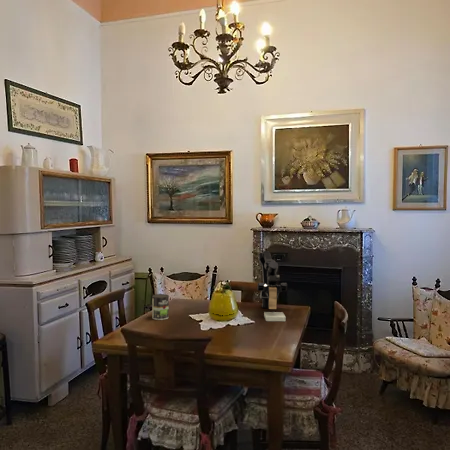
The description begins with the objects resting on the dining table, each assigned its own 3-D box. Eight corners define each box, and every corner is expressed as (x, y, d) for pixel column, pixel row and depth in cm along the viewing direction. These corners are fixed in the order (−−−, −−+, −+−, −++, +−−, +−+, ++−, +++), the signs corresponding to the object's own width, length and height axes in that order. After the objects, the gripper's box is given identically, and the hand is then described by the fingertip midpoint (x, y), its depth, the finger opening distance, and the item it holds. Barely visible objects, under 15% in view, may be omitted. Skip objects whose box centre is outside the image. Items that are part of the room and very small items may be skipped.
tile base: (264, 315, 278) (264, 312, 277) (282, 316, 278) (282, 312, 278) (266, 321, 266) (266, 317, 265) (285, 321, 266) (285, 317, 266)
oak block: (268, 307, 273) (269, 286, 272) (275, 307, 273) (276, 287, 272) (269, 308, 269) (269, 288, 268) (276, 309, 269) (276, 288, 268)
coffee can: (171, 318, 270) (171, 296, 269) (156, 321, 264) (156, 298, 263) (163, 314, 278) (163, 293, 277) (149, 317, 272) (149, 295, 271)
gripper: (257, 270, 274) (258, 290, 263) (287, 270, 273) (289, 291, 263) (257, 279, 282) (257, 300, 272) (285, 280, 281) (287, 301, 271)
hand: (272, 298), depth 269 cm, fingers closed on oak block, 4 cm apart
